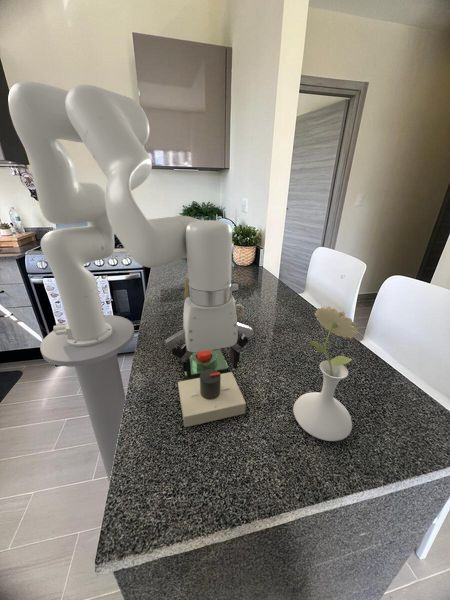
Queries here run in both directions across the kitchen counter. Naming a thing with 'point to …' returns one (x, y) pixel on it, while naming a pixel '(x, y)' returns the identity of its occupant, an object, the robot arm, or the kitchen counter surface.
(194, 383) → the panel
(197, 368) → the button box
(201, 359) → the button
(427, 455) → the kitchen counter surface
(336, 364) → the flower in vase
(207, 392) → the knob
